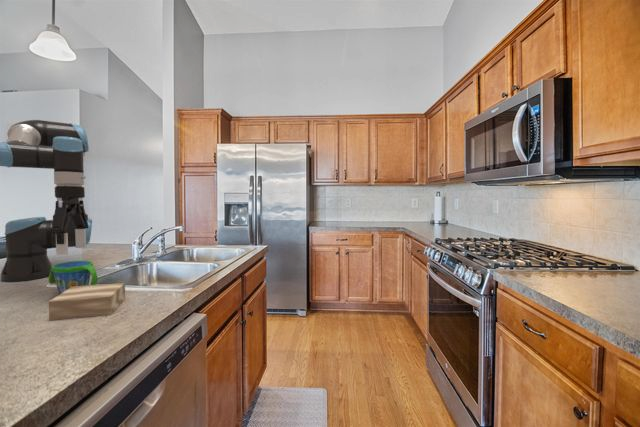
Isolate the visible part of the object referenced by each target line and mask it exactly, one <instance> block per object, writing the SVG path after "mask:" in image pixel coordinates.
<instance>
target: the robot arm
mask: <svg viewBox="0 0 640 427" xmlns="http://www.w3.org/2000/svg"><path fill="white" fill-rule="evenodd" d="M88 143H89V142H88V137H87V131H86V129H85V127H84V126H82V125H80V124H75V123H74V124H73V123H66V122H65V123H64V122H58V121H52V120H51V121H49V120H41V119H30V120H25V121H19V122H16V123H14V124H13V125H11V126H10V127H9V128H8V130H7V139H6V141H0V167H6V168H25V169H26V168H28V169H29V168H31V169H49V170H50V169H51V170H53V184H54V185H55V186H54V197H55V198H56V201H55V209H54V213H53V215H52V219H47V218H46V217H45V216H35V217H26V218H20V219H14V220H10V221H7V223H6V224H5V226H4V227H5V229H4V235H5V252H6V253H5V254H6V255H5V256H6V260H5V262H4V265H3V268H2V269H1V273H0V281H1V282H9V283H10V282H13V283H14V282H23V281H24V282H25V281H32V280H37V279H43V278H47V277H49V274H50V270H51V268H52V266H53V264H52V262H51V261H50V259H49V256H48V249H49V250H50V249H55V250H56V251H55V252H56V253H55V254H56V256H61V255H62V256H63V255H64V256H67V255H69V248H73V247H74V248H75V249H81V248H82V249H85V248H87V245H89V244H90V241H91V235H92V227H93V219H92V218H90V217H89V215H88V213H87V212H86V211H85V207H84V206H85V204H84V198H85V197H86V195H85V193H86V192H85V187H84V185H85V179H86V176H85V174H84V172H85V171H84V157H85V155H86V154H85V153H88V152H89V144H88Z"/></svg>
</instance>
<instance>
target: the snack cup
mask: <svg viewBox="0 0 640 427" xmlns="http://www.w3.org/2000/svg"><path fill="white" fill-rule="evenodd" d="M90 278H91V279H90ZM48 282H49V284H52V285H53V284H55V285H56V289H57V292H58V295H60V294H61V293H63V292H64V291H66V290H68V289H69V288H71V287H72V286H86V285H98V282H99V277H98V274H97V271H96V269H95V267H94V262H93V261H90V260H75V261H74V260H72V261H65V262H60V263H56V264H54V265H53V264H52V268H51V270H50V274H49V276H48Z"/></svg>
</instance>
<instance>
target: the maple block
mask: <svg viewBox="0 0 640 427" xmlns="http://www.w3.org/2000/svg"><path fill="white" fill-rule="evenodd" d="M125 299H126V283H125V282H118V283H117V282H116V283H104V284H103V283H101V284H96V285H91V284H89V285H86V286H72V287H71V288H69V289H68V290H66V291H64V292H63V293H61V294H60V295H59V294H58V295H56V296H55V297H53V298H52V299H50V300H49V301H48V318H49V321H57V320H67V319H78V318H85V317H98V316H108V315H112V314H113V313H114V312H115V310H116V309H117V308H118V307H119V306H120V305H121V303H123V301H125Z"/></svg>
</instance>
